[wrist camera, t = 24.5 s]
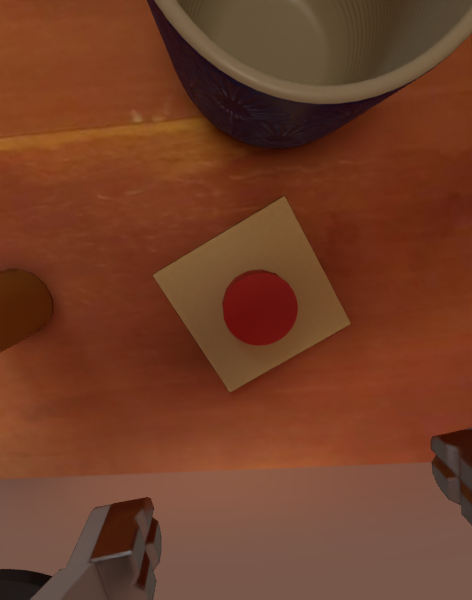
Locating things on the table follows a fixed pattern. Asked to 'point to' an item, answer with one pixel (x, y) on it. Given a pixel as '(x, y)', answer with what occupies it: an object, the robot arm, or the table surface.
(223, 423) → the table surface
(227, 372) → the cork mat
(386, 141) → the table surface
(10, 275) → the jar
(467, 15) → the planter
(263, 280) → the red lid
